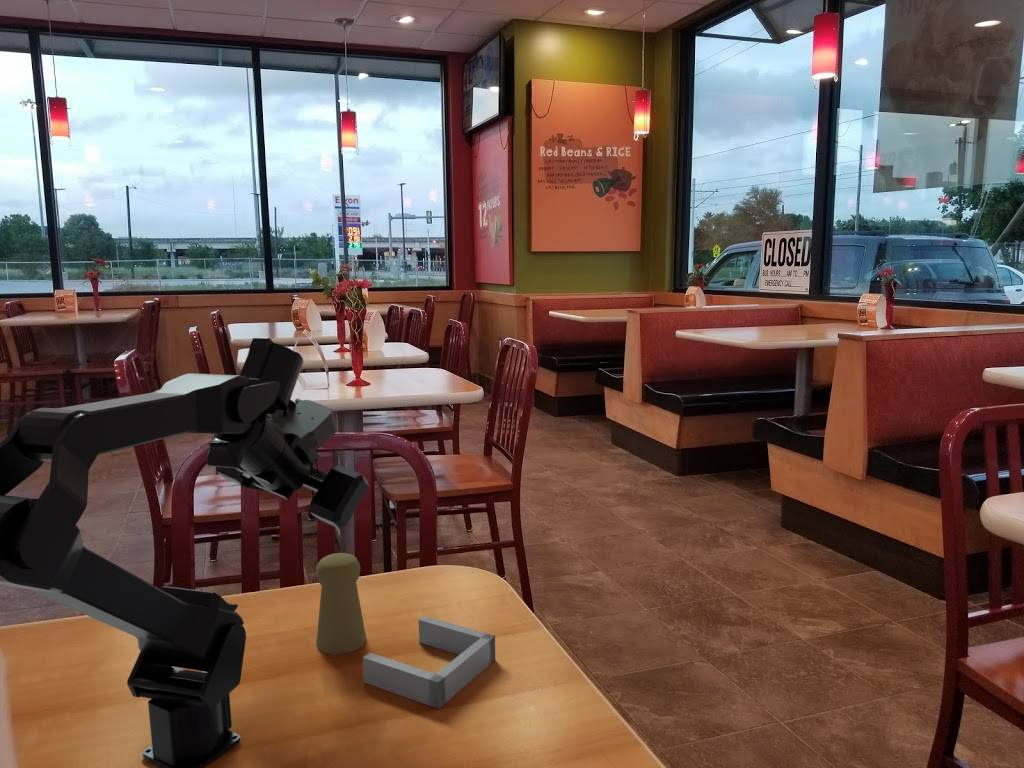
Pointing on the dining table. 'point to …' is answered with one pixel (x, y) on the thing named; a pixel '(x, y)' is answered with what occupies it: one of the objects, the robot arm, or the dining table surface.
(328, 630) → the olive pawn
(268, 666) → the dining table surface
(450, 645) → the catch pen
